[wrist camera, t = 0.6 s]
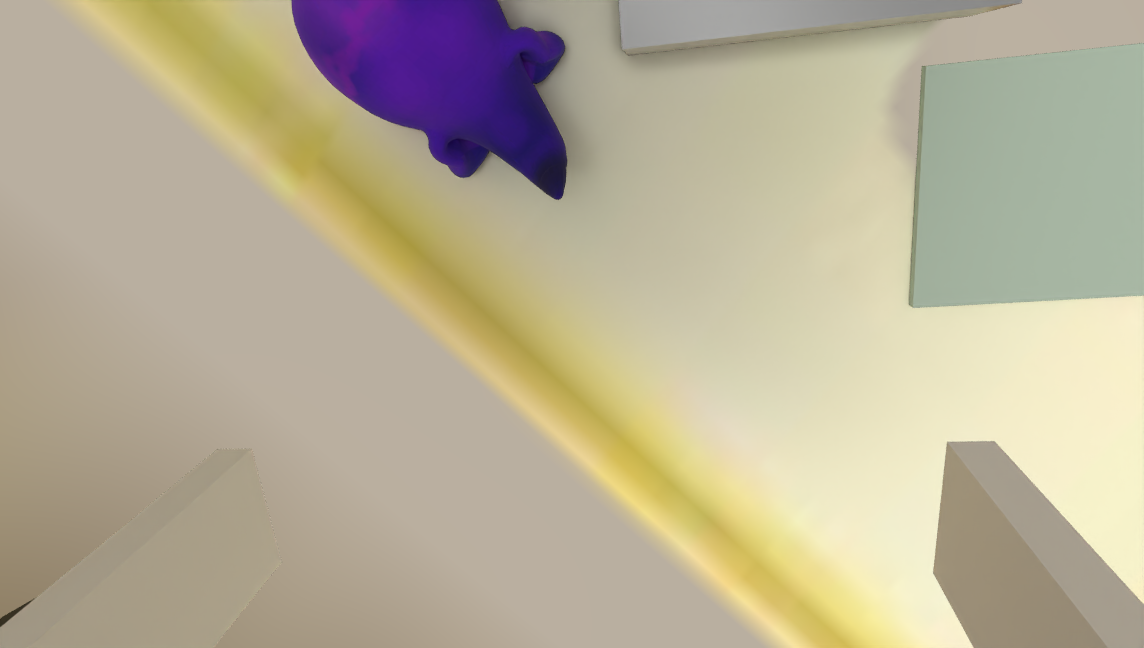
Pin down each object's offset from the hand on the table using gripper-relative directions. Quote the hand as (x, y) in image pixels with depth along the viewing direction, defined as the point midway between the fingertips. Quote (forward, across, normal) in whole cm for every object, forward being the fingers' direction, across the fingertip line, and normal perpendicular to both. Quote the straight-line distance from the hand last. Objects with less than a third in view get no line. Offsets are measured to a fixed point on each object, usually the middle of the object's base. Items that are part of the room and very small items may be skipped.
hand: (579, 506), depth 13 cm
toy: (+26, -8, +9) cm, 29 cm away
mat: (+26, +20, +1) cm, 33 cm away
